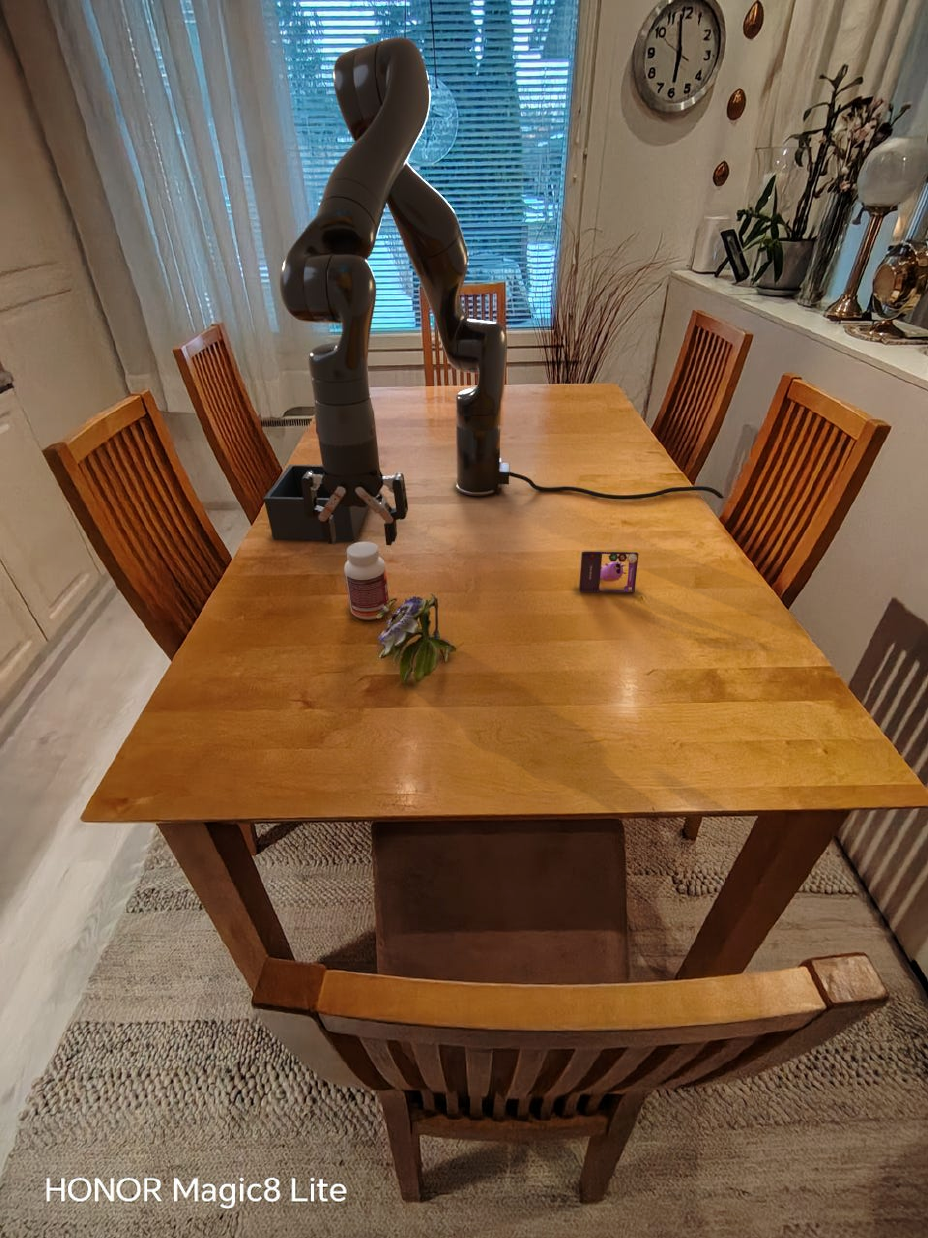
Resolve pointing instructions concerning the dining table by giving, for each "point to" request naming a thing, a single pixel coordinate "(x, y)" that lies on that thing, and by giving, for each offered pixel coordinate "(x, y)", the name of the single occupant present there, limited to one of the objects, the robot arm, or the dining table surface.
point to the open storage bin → (290, 512)
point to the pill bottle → (365, 580)
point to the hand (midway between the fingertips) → (360, 542)
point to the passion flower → (405, 629)
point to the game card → (606, 570)
